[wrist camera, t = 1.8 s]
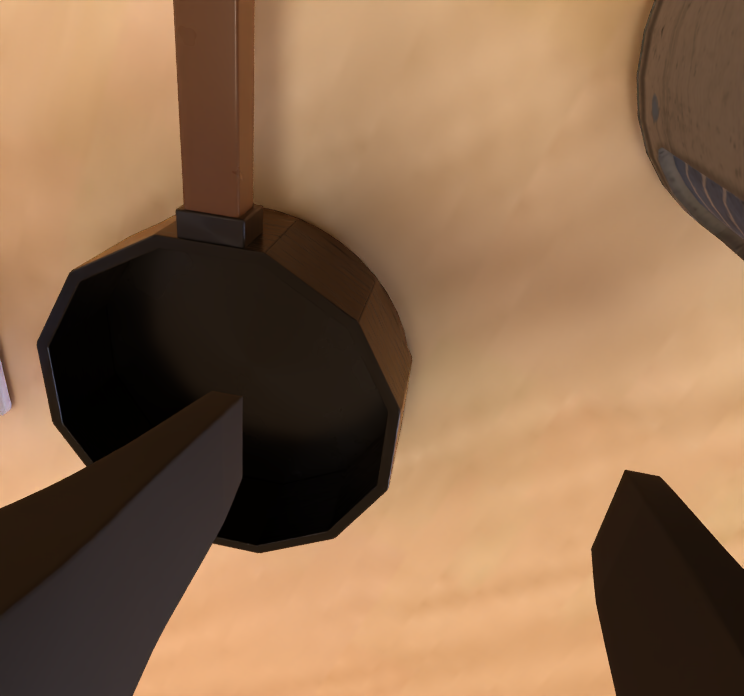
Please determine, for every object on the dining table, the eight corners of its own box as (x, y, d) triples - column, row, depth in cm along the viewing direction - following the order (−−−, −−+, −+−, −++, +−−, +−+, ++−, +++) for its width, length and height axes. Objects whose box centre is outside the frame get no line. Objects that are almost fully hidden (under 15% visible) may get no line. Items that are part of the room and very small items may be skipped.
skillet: (388, 502, 25) (373, 578, 21) (125, 448, 26) (70, 513, 23) (485, -77, 15) (486, -110, 11) (50, -125, 16) (-69, -167, 13)
